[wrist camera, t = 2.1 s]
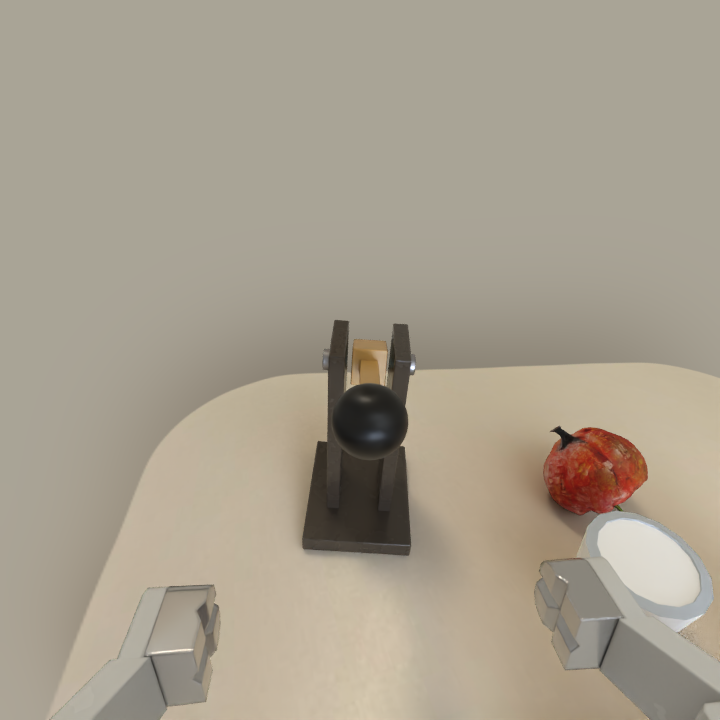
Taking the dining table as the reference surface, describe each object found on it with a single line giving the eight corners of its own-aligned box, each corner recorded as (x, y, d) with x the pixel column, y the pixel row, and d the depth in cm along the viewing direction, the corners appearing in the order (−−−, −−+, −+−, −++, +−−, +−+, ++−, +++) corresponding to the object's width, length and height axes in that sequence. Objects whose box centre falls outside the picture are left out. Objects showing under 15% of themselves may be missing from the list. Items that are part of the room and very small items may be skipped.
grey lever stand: (409, 555, 33) (442, 392, 24) (302, 549, 33) (296, 383, 24) (403, 455, 42) (426, 305, 33) (317, 450, 42) (316, 299, 33)
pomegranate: (612, 501, 41) (549, 410, 42) (694, 494, 35) (618, 389, 36) (573, 554, 38) (504, 454, 38) (656, 558, 31) (573, 438, 32)
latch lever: (407, 477, 19) (415, 400, 18) (326, 472, 19) (330, 395, 18) (391, 381, 31) (395, 334, 30) (343, 378, 31) (345, 330, 30)
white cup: (623, 565, 34) (664, 507, 30) (684, 669, 28) (745, 615, 24) (536, 570, 33) (566, 511, 29) (581, 677, 27) (626, 623, 23)
